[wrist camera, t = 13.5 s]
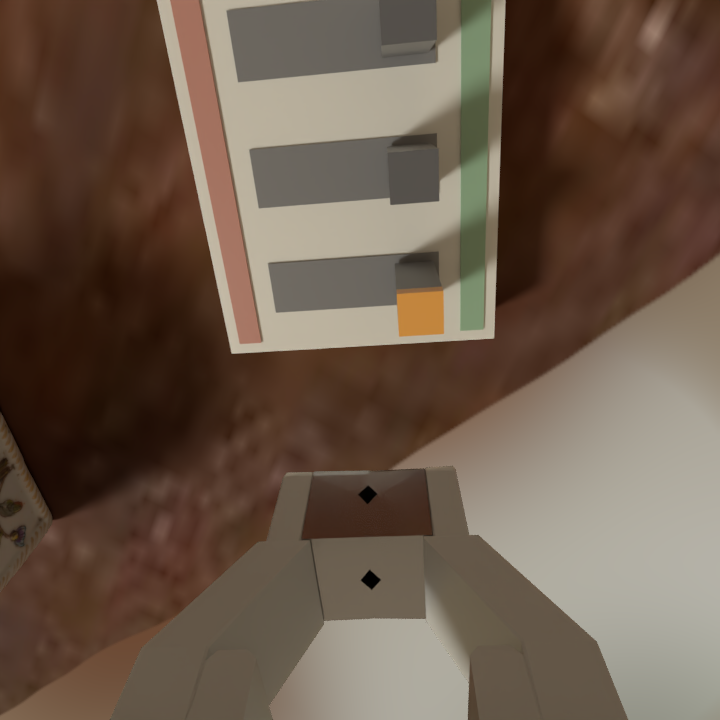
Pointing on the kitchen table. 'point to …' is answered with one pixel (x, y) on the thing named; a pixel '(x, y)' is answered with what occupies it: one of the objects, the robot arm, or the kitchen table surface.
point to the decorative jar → (18, 508)
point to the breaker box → (342, 160)
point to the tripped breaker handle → (419, 299)
